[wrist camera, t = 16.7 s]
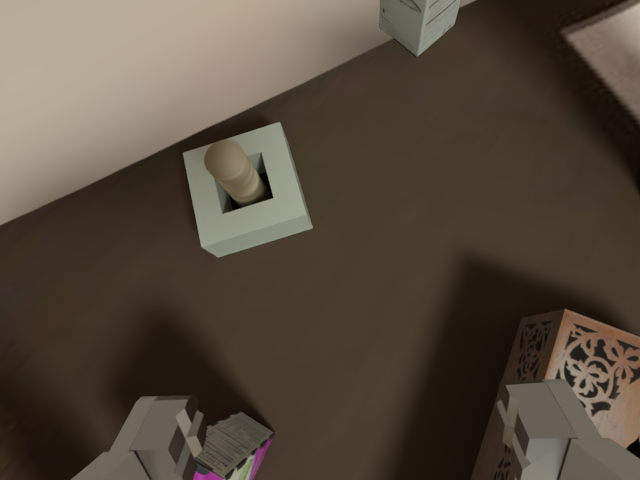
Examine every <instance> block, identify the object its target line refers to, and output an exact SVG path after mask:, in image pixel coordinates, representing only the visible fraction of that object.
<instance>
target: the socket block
mask: <svg viewBox="0 0 640 480" xmlns="http://www.w3.org/2000/svg"><path fill="white" fill-rule="evenodd" d="M225 140H227V139H225ZM228 140H233V141H235V142H237V143H238V144H239V145H240V146H241V147H242V149H243V151H244V152H245V154H246V155H247V157H248V159H249V160H250V162H251V163H252V165H253V167H254V168H255V170H256V171H257V173H258V175H259V174H262V173H265V172H267V175H268V179H269V183H270V187H271V190H272V194H273V198H272V199H269V200H266V201H263V202H259V203H256V204H253V205H250V206H247V207H243V208H240V209H237V210H234V211H233V210H232V206H231V201H230V197H229V194H228V192H227V191H226V190H225V189H224V188H223V187H222V186H221V185H220V184H219V182H218V181H217V180H216V179H215V178H214V177H213V176H212V175H211V173H210V172H209V171H208V170H207V169H206V167H205V163H204V158H205V154H206V152H207V150H208V149H209V147H210V146H211V145H212V144H214V143H212V144H209V145H206V146H203V147H200V148H196V149H193V150H190V151H187V152H184V153H183V157H184V162H185V167H186V172H187V177H188V182H189V187H190V192H191V197H192V202H193V207H194V212H195V217H196V222H197V227H198V232H199V237H200V242H201V247H202V248H204V249H205V250H207V251H209V252H210V253H212V254H213V255H215V256H217V257H221V256H225V255H228V254H231V253H234V252H238V251H241V250H244V249H247V248H251V247H254V246H257V245H260V244H264V243H267V242H270V241H273V240H276V239H280V238H283V237H286V236H289V235H293V234H296V233H299V232H302V231H306V230H309V229H312V228H313V226H312V223H311V220H310V216H309V213H308V209H307V206H306V202H305V199H304V196H303V192H302V189H301V185H300V182H299V178H298V175H297V172H296V168H295V165H294V161H293V158H292V154H291V151H290V148H289V144H288V141H287V139H286V136H285V134H284V131H283V129H282V126H281V124H280V122H278V123H275V124H271V125H268V126H265V127H262V128H259V129H256V130H253V131H250V132H246V133H243V134H240V135H237V136H234V137H231V138H228Z"/></svg>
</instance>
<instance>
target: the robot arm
mask: <svg viewBox="0 0 640 480" xmlns="http://www.w3.org/2000/svg"><path fill="white" fill-rule="evenodd" d="M498 393H499V395H500V398H501V400H499V401H498V402H497V403H496V411H495V413H496V422H497V427H498V430H499V434H500V436H501V439H502V442H503V443H505V444H506V445H507V446H508V447H509V448H510V449H511V450H510V456H509V460H510V463H511V466H512V468H513V471H514V473H515V476H516V479H517V480H640V459H639V458H638V457H636V456H635V455H633V454H632V453H631V452H629V451H628V450H626V449H625V448H623V447H622V446H620V445H619V444H618V443H616V442H615V441H613V440H612V439H610V438H603V437H602V436H601V434H600V433H599V431H598V429H597V428H596V426H595V425H594V423H593V421H592V420H591V418H590V417H589V415H588V413H587V412H586V410H585V409H584V407H583V405H582V404H581V402H580V401H579V399H578V397H577V396H576V394H575V393H574V391H573V390H572V388H571V386H570V385H569V383H568V382H567V381H566V380H565V379H546V380H540V379H538V380H520V381H502V382H501V383H500V384H499V388H498ZM198 406H199V402H198V400H197V398H196V396H146V397H141V398H140V399H138V400H137V401H136V403H135V405H134V407H133V408H132V410H131V412H130V414H129V416H128V418H127V420H126V421H125V423H124V425H123V427H122V429H121V431H120V432H119V434H118V436H117V438H116V440H115V442H114V444H113V445H112V447H111V449H110V451H109V452H103V453H102V454H101V455H100V456H99V457H97V458H96V459H95V460H94V461H93V462H91V463H90V464H89V465H88V466H87V467H85V468H84V469H83V470H82V471H81V472H79V473H78V474H77V475H76V476H75V477H73V478H72V479H71V480H193V478H194V475H195V472H196V469H197V464H196V461H195V457H196V456H197V455H198V454H199V453H200V452H201V451H202V450H203V447H204V444H205V441H206V432H207V425H206V419H205V417H204V414H202V413H201V412H200V411H198V410H197V409H198Z"/></svg>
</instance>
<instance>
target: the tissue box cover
mask: <svg viewBox="0 0 640 480" xmlns="http://www.w3.org/2000/svg"><path fill="white" fill-rule="evenodd" d="M538 379H540V380H546V379H565V380H566V381H567V382H568V383H569V385H570V386H571V388H572V390H573V391H574V393H575V394H576V396H577V397H578V399H579V401H580V402H581V404H582V405H583V407H584V409H585V410H586V412H587V413H588V415H589V417H590V418H591V420H592V421H593V423H594V425H595V426H596V428H597V429H598V431H599V433H600V434H601V436H602V437H603V438H610V439H612V440H613V441H615V442H616V443H618V444H619V445H620V446H622V447H623V448H625V449H626V450H628V451H629V452H631V453H632V454H633V455H635V456H636V457H638V458H639V459H640V337H639V336H636V335H633V334H631V333H628V332H625V331H623V330H620V329H617V328H615V327H612V326H610V325H607V324H604V323H602V322H599V321H596V320H594V319H591V318H588V317H586V316H583V315H580V314H578V313H575V312H573V311H570V310H567V309H562V310H557V311H552V312H547V313H543V314H538V315H533V316H528V317H523V318H521V322H520V325H519V328H518V331H517V334H516V337H515V340H514V344H513V347H512V350H511V353H510V356H509V359H508V362H507V366H506V369H505V372H504V375H503V378H502V381H520V380H538ZM502 381H501V382H502ZM499 400H501V398H500V395H499V393H498V394H497V397H496V400H495V403H494V407H493V410H492V413H491V416H490V419H489V422H488V426H487V429H486V432H485V435H484V438H483V441H482V444H481V448H480V451H479V454H478V457H477V460H476V463H475V466H474V470H473V473H472V476H471V479H470V480H517V479H516V476H515V473H514V471H513V468H512V466H511V463H510V460H509V456H510V450H511V449H510V448H509V447H508V446H507V445H506V444H505V443H503V442H502V439H501V436H500V434H499V430H498V427H497V422H496V413H495V411H496V403H497V402H498V401H499Z"/></svg>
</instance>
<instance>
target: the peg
mask: <svg viewBox="0 0 640 480" xmlns="http://www.w3.org/2000/svg"><path fill="white" fill-rule="evenodd" d="M204 163H205V167H206V169H207V170H208V171H209V172H210V173H211V175H212V176H213V177H214V178H215V179H216V180H217V181H218V182H219V184H220V185H221V186H222V187H223V188H224V189H225V190H226V191H227V192H228V194H229V195H230V196H231V197H232V198H233V199H234V200H235V201H236V202H237V204H238V205H239V206H240V207H241V208H243V207H247V206H250V205H253V204H256V203H259V202H263V201H266V200H269V199H271V197H270V192H269V190H268V189H267V187H266V186H265V184H264V182H263V181H262V179H261V178H260V176H259V175H258V173H257V171H256V170H255V168H254V167H253V165H252V163H251V162H250V160H249V159H248V157H247V155H246V154H245V152H244V151H243V149H242V147H241V146H240V145H239V144H238V143H237V142H235V141H233V140H228V139H227V140H220V141H217V142H215V143H214V144H212V145H211V146H210V147H209V149H208V150H207V152H206V154H205V158H204Z"/></svg>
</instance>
